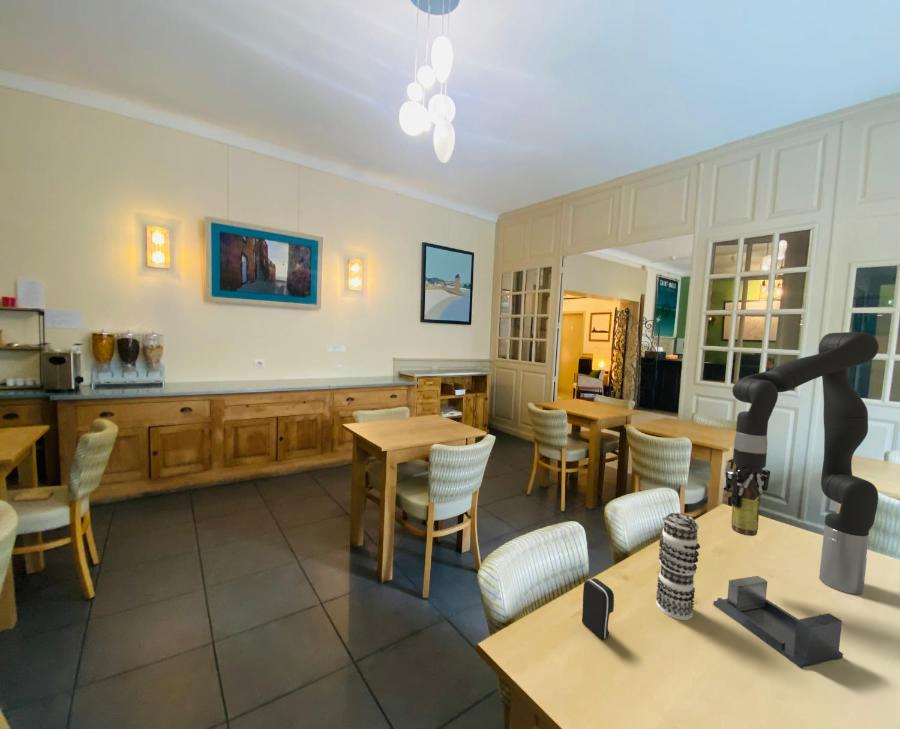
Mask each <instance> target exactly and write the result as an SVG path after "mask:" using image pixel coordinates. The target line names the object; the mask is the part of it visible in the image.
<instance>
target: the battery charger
mask: <svg viewBox="0 0 900 729" xmlns="http://www.w3.org/2000/svg"><path fill="white" fill-rule="evenodd" d="M614 606H615V596H614V592H613V590H612V588H610V587H609V586H608V585H606V584H605V583H604V582H602V581H601V580H599V579H598V578H591V579H586V580H585V581H584V583H583V590H582V614H581V615H582V617H581V622H582V623H583V624H584V625H585V626H586V627H587V628H588V629H589V630H590V631H592V632H593V633H594V634H595V635H596V636H598V638H600V639H601V640H605V639H606V638H608V637H609V636H610V632H609V621H610V620H609V619H610V615H611V613H613V612H614V610H615V609H614V608H615V607H614Z"/></svg>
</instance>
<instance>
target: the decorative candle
mask: <svg viewBox="0 0 900 729" xmlns="http://www.w3.org/2000/svg"><path fill="white" fill-rule="evenodd" d="M662 520H663V521H664V523H663V528H662V532H661V533H660V535H659V554H658V555H659V557H658V560H659V564H660V570H659V576H658V577H657V589H656V597H655V599H656V601H655V604H656V607H657V609H658V610H659V611H660V612H662V613H663V614H664V615H666V616H668V617H670V618H672V619H676V620H681V621H688V620H690V619H692V618H693V613H694V612H693V611H694V609H693V608H694V606H695V604H694V602H695V601H694V599H695V592H696V588H695V580H694V577H695V576H694V575H695V574H696V573H697V569H698V567H697V563H698V562H699V559H698V557H699V556H700V553H699V551H698V550H699V549H700V548H701V545H700V543H698V541H699V540H698V538H699V537H698V530H699V529H700V525H699V524H698V523H697V522H696V521H695V520H694V518H693V517H691V516H689V515H688V514H685V513H682V512H681V513H680V512H670V513H668V514H667V515H665V516H663V519H662Z"/></svg>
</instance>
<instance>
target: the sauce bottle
mask: <svg viewBox="0 0 900 729" xmlns="http://www.w3.org/2000/svg"><path fill="white" fill-rule="evenodd" d="M749 471H750V474H753V478H752V480H750V482H749V484H748V487H747V488H746V489H744V491H743V493H742V505H741V508H737V507H734V506H733V505H732V504H731V519H730V521H731V522H730V523H731V528H732V530H733V531H734V532H735V533H737V534H739V535H744V536H746V537H747V536H748V537H755V536H757V534H758V529H759V521H760V520H759V517H760V516H759V515H760V504H759V500H760V501H761V496H760V493H759V490H758V487H757V484H756V481H755V471H756V468H749ZM738 483H740V484H743V483H741V482H739V481H738ZM739 488H740V487H739V486H737V490H739Z"/></svg>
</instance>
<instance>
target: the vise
mask: <svg viewBox="0 0 900 729" xmlns="http://www.w3.org/2000/svg"><path fill="white" fill-rule="evenodd" d="M712 605H713V606H715V607H716V608H717V609H719V610H720V611H721V612H723V613H725V615H727V616H728V617H730V619H732V620H734V621H736V623H738V625H741V626H742V627H744V628H745V629H746V630H747V631H749V632H750V633H752V634H753V635H755V636H756V637H757V638H759V639H760V640H761V641H763V642H764V643H766V644H767V645H768V646H770V647H771V649H773V650H775V651H776V652H778V653H779V654H781V655H782V656H783V657H785V658H786V659H788V661H790V662H791V663H793V664H794V665H796V666H797V667H798V668H799V669H804V668H808V667H812V666H815V665H819V664H824V663H828V662H832V661H836V660H840V659H843V657H844V653H843V652H841V651H840V645H841V634H842V627H843V626H842V624H843V620H841V619H840V618H837V617H836V616H835V615H833V614H831V613H824V614H819V615H814V616H809V617H805V618H800V619H799V618H798V617H797V616H794V615H792V614H791V613H789V612H788V611H786V610H784V609H783V608H781V607H780V606H779V605H777V604H775V603H773V602H772V601H771V600H768V599H767V598H766V602H765V607H761V608H756V609H750V610H745V611H739V610H737V609H736V608H735V607H733V606H732V605H730V604H729V603H727V598H724V599H723V598H722V597H717V600H713V603H712Z"/></svg>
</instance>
